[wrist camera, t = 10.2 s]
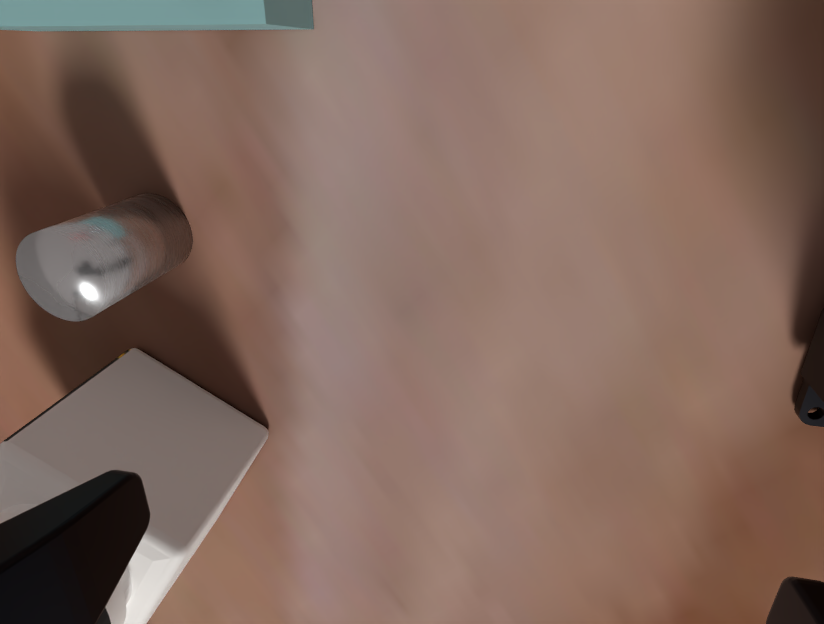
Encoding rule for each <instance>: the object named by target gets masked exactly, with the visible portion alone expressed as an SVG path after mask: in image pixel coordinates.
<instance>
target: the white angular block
mask: <svg viewBox="0 0 824 624" xmlns="http://www.w3.org/2000/svg"><path fill="white" fill-rule="evenodd" d="M268 434H269V432H268V429H267V428H265V427H264V426H263V425H261V424H259V423H258V422H256V421H254V420H253V419H251V418H250V417H248V416H246V415H245V414H243V413H241V412H240V411H238V410H237V409H235V408H233V407H232V406H230V405H228V404H227V403H225V402H224V401H222V400H220V399H219V398H217V397H215V396H214V395H212V394H211V393H209V392H207V391H206V390H204V389H202V388H201V387H199V386H198V385H196V384H194V383H193V382H191V381H189V380H188V379H186V378H185V377H183V376H181V375H180V374H178V373H176V372H175V371H173V370H172V369H170V368H168V367H167V366H165V365H163V364H162V363H160V362H159V361H157V360H155V359H154V358H152V357H150V356H149V355H147V354H146V353H144V352H142V351H141V350H139V349H137V348H132V349H129V350H127V351H126V352H125V353H123V354H122V355H120V356H119V357H118V358H116V359H115V360H114V361H112V362H111V363H109V364H108V365H107V366H105V367H104V368H103V369H101V370H100V371H99V372H97V373H96V374H94V375H93V376H92V377H90V378H89V379H88V380H86V381H85V382H83V383H82V384H81V385H79V386H78V387H77V388H75V389H74V390H73V391H71V392H70V393H68V394H67V395H66V396H64V397H63V398H62V399H60V400H59V401H58V402H56V403H55V404H53V405H52V406H51V407H49V408H48V409H47V410H45V411H44V412H42V413H41V414H40V415H38V416H37V417H36V418H34V419H33V420H32V421H30V422H29V423H27V424H26V425H25V426H23V427H22V428H21V429H19V430H18V431H16V432H15V433H14V434H12V435H11V436H10V437H8V438H7V439H6V440H4V441H3V442H2V443H1V444H0V523H2V522H4V521H7V520H9V519H11V518H13V517H15V516H17V515H19V514H21V513H23V512H25V511H27V510H29V509H31V508H33V507H35V506H37V505H39V504H42V503H44V502H46V501H48V500H50V499H52V498H54V497H56V496H58V495H60V494H62V493H64V492H66V491H68V490H70V489H72V488H74V487H76V486H79V485H81V484H83V483H85V482H87V481H89V480H91V479H93V478H95V477H97V476H99V475H101V474H103V473H105V472H108V471H110V470H122V471H128V472H134V473H137V474H138V475H139V476H140V477H141V479H142V482H143V485H144V489H145V493H146V497H147V501H148V505H149V509H150V521H149V525H148V528H147V530H146V532H145V534H144V536H143V538H142V540H141V542H140V543H139V545H138V547H137V549H136V551H135V553H134V555H133V556H132V558H131V560H130V562H129V564H128V566H127V568H126V569H125V571H124V573H123V575H122V577H121V579H120V581H119V583H118V584H117V586H116V588H115V590H114V592H113V594H112V596H111V597H110V599H109V601H108V603H107V605H106V607H105V609H104V610H103V612H102V614H101V616H100V617H99V619H98V621H97V623H96V624H146V623H147V622H148V620H149V619H150V617H151V616H152V614H153V613H154V611H155V610H156V609H157V607H158V606H159V604H160V603H161V601H162V600H163V598H164V597H165V595H166V594H167V592H168V591H169V589H170V588H171V586H172V585H173V583H174V582H175V581H176V579H177V578H178V576H179V575H180V573H181V572H182V570H183V569H184V567H185V566H186V564H187V563H188V561H189V560H190V558H191V557H192V556H193V554H194V553H195V551H196V550H197V548H198V547H199V545H200V544H201V542H202V541H203V539H204V538H205V536H206V535H207V533H208V532H209V530H210V529H211V528H212V526H213V525H214V523H215V522H216V520H217V519H218V517H219V515H220V514H221V512H222V511H223V509H224V507H225V506H226V504H227V503H228V501H229V499H230V498H231V496H232V494H233V493H234V491H235V490H236V488H237V486H238V485H239V483H240V482H241V480H242V478H243V477H244V475H245V474H246V472H247V470H248V469H249V467H250V466H251V464H252V462H253V461H254V459H255V458H256V456H257V454H258V453H259V451H260V450H261V448H262V446H263V445H264V443H265V442H266V440H267V438H268Z"/></svg>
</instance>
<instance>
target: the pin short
mask: <svg viewBox="0 0 824 624" xmlns="http://www.w3.org/2000/svg"><path fill="white" fill-rule="evenodd" d="M192 241H193V239H192V232H191V228H190V225H189V223H188V221H187V219H186V217H185V216H184V214H183V213H182V211H181V210H180V209H179V208H178V207H177V206H176V205H175V204H174V203H172V202H171V201H169V200H168V199H166V198H164V197H162V196H159V195H156V194H150V193H146V194H140V195H137V196H134V197H131V198H129V199H126V200H123V201H120V202H117V203H115V204H112V205H109V206H106V207H104V208H101V209H98V210H95V211H92V212H90V213H87V214H84V215H81V216H78V217H76V218H73V219H70V220H67V221H64V222H62V223H59V224H56V225H53V226H50V227H48V228H45V229H42V230H39V231H36V232H34V233H31V234H29V235H27V236H26V237H25V238H24V239H23V240H22V241H21V243H20V244H19V246H18V249H17V253H16V266H17V271H18V275H19V277H20V280H21V282H22V284H23V286H24V288H25V289H26V291H27V292H28V294H29V295H30V296H31V298H32V299H33V300H34V301H35V302H36V303H37V304H38V305H39V306H40V307H42V308H43V309H44V310H45V311H47V312H49V313H50V314H52V315H54V316H56V317H58V318H61V319H64V320H68V321H84V320H87V319H89V318H91V317H93V316H95V315H96V314H98V313H100V312H101V311H103V310H105V309H106V308H108V307H110V306H111V305H113V304H115V303H116V302H118V301H120V300H121V299H123V298H125V297H126V296H128V295H130V294H131V293H133V292H135V291H137V290H138V289H140V288H142V287H143V286H145V285H147V284H148V283H150V282H152V281H153V280H155V279H157V278H158V277H160V276H162V275H163V274H165V273H167V272H168V271H170V270H172V269H173V268H175V267H177V266H178V265H180V264H182V263H183V262H184V261H185V260H186V259H187V258H188V256H189V254H190V252H191V249H192Z"/></svg>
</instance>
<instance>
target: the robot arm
mask: <svg viewBox="0 0 824 624" xmlns="http://www.w3.org/2000/svg"><path fill="white" fill-rule="evenodd" d="M801 375H802V377H803V378H804V380H803V383H802V386H801V389H800V392H799V395H798V397H797V400H796V403H795V409H794V410H795V412H796V414H797V416H798V417H799V418H800V420H801V421H802V422H804V423H805V424H808V425H811V426H821V427H824V309H823V310H822V313H821V316H820V319H819V322H818V325H817V328H816V330H815V333H814V336H813V339H812V342H811V345H810V348H809V351H808V354H807V357H806V359H805V362H804V365H803V368H802V371H801ZM814 407H819V408H818V410H817V411H815V412H813V413H808V411H809V410H810V409H812V408H814ZM149 521H150V509H149V505H148V501H147V497H146V493H145V489H144V485H143V482H142V479H141V477H140V476H139V475H138V474H137V473H134V472H128V471H122V470H110V471H108V472H105V473H103V474H101V475H99V476H97V477H95V478H93V479H91V480H89V481H87V482H85V483H83V484H81V485H79V486H76V487H74V488H72V489H70V490H68V491H66V492H64V493H62V494H60V495H58V496H56V497H54V498H52V499H50V500H48V501H46V502H44V503H42V504H39V505H37V506H35V507H33V508H31V509H29V510H27V511H25V512H23V513H21V514H19V515H17V516H15V517H13V518H11V519H9V520H7V521H4V522H2V523H0V624H96V623H97V621H98V619H99V617H100V616H101V614H102V612H103V610H104V609H105V607H106V605H107V603H108V601H109V599H110V597H111V596H112V594H113V592H114V590H115V588H116V586H117V584H118V583H119V581H120V579H121V577H122V575H123V573H124V571H125V569H126V568H127V566H128V564H129V562H130V560H131V558H132V556H133V555H134V553H135V551H136V549H137V547H138V545H139V543H140V542H141V540H142V538H143V536H144V534H145V532H146V530H147V528H148V525H149ZM766 624H824V582H821V581H817V580H811V579H804V578H798V577H787V578H786V579H784V580H783V582H782V583H781V585H780V588H779V590H778V593H777V595H776V598H775V600H774V602H773V605H772V607H771V610H770V612H769V615H768V617H767V621H766Z"/></svg>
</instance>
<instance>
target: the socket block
mask: <svg viewBox="0 0 824 624" xmlns="http://www.w3.org/2000/svg"><path fill="white" fill-rule="evenodd" d="M286 29H314V26H313V11H312V0H0V30H21V31H150V30H286Z"/></svg>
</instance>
